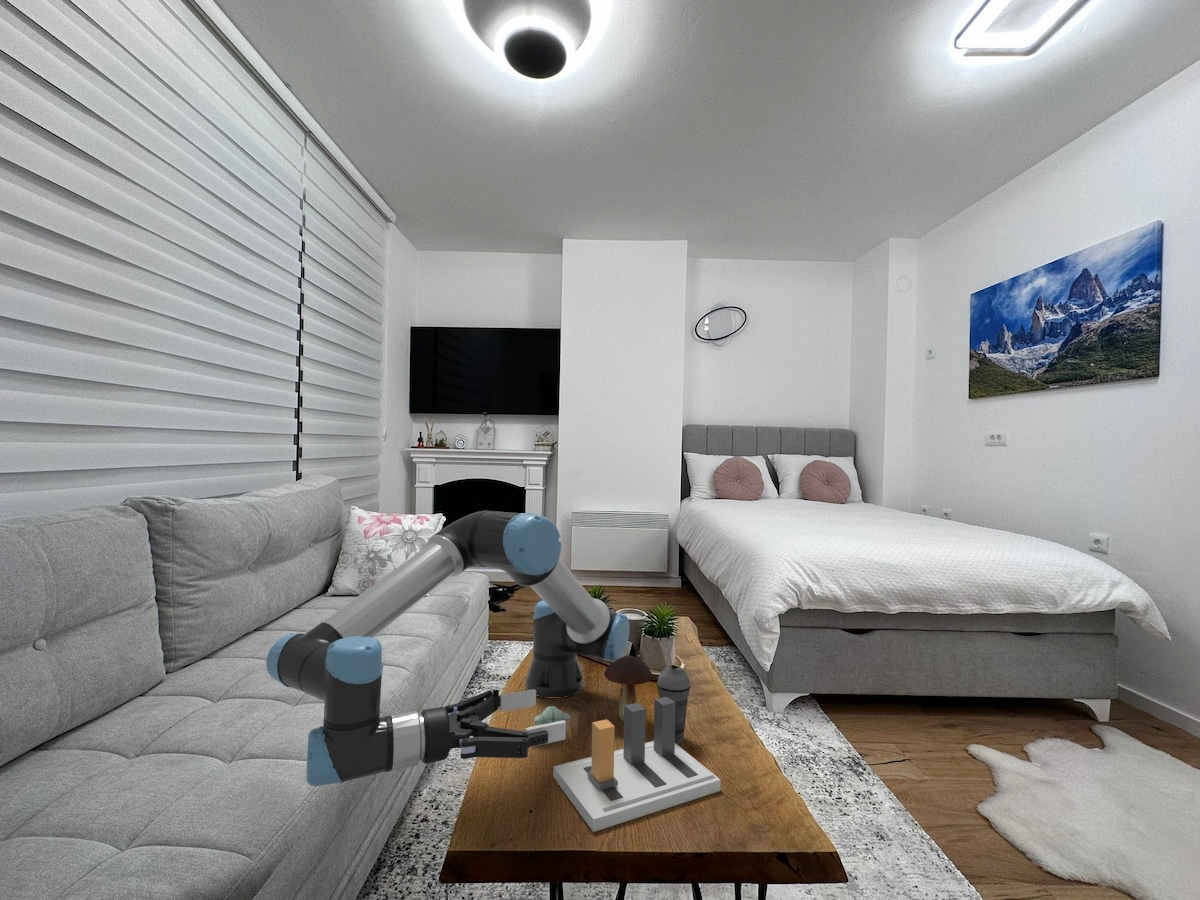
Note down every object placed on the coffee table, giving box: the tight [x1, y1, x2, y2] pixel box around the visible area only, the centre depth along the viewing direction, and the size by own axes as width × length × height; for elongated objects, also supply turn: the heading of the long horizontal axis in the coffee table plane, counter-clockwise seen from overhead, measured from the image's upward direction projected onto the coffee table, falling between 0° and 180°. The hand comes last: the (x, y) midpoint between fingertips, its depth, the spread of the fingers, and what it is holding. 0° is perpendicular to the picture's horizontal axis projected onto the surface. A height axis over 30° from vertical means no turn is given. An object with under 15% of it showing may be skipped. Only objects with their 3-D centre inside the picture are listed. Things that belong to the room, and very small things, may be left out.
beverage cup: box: [656, 644, 691, 745], centre depth 118 cm, size 7×7×20 cm
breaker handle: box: [587, 719, 618, 790], centre depth 98 cm, size 5×4×10 cm
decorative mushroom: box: [604, 655, 653, 722], centre depth 126 cm, size 11×11×15 cm
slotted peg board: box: [552, 697, 722, 833], centre depth 101 cm, size 17×26×12 cm, turn 117°
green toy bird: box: [534, 705, 572, 726], centre depth 117 cm, size 8×4×7 cm, turn 106°
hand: (549, 712), depth 93 cm, fingers open, 13 cm apart
